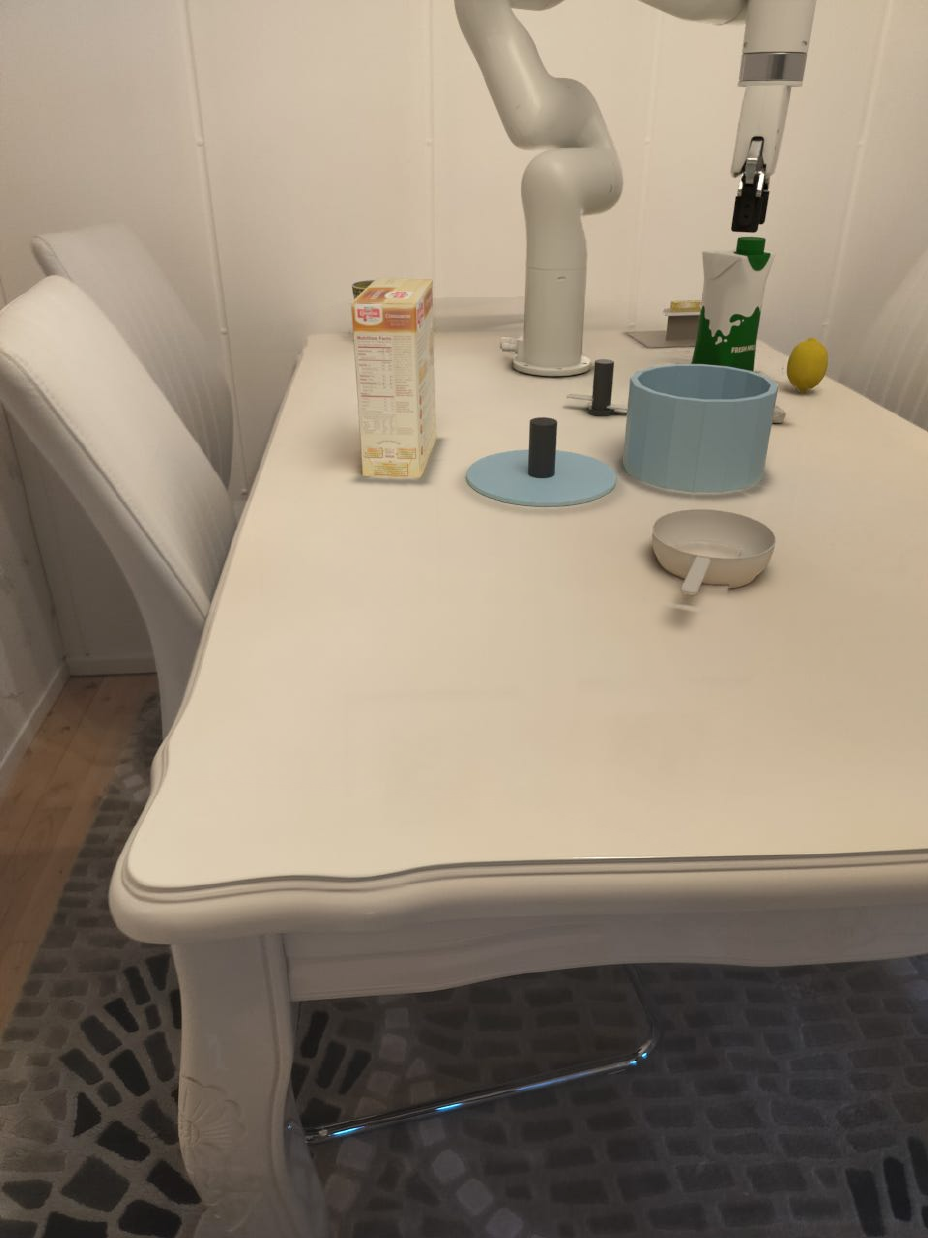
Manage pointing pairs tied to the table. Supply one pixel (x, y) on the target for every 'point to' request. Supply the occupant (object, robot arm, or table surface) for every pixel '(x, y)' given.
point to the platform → (675, 327)
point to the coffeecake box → (395, 375)
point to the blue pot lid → (541, 472)
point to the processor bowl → (698, 427)
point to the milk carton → (732, 304)
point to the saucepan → (720, 530)
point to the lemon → (807, 364)
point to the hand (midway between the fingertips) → (748, 227)
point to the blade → (601, 390)
